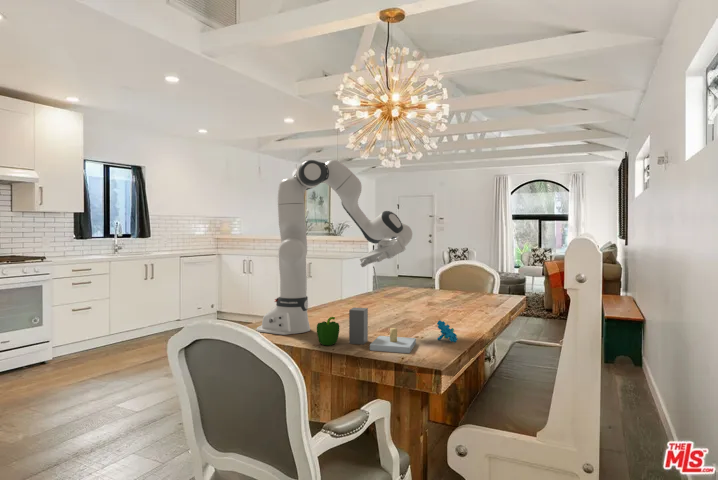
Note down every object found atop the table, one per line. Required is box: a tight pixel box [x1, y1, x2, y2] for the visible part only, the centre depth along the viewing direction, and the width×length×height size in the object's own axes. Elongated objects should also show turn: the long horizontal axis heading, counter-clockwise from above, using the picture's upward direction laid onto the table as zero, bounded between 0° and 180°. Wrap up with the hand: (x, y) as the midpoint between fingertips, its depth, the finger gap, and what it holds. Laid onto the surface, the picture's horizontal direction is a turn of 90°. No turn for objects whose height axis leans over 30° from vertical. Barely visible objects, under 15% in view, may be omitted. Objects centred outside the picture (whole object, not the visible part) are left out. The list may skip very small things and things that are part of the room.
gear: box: [436, 319, 458, 343], centre depth 173 cm, size 11×6×10 cm
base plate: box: [369, 327, 417, 354], centre depth 162 cm, size 14×14×6 cm
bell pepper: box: [316, 316, 340, 346], centre depth 166 cm, size 8×8×10 cm
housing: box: [348, 307, 369, 345], centre depth 169 cm, size 6×6×12 cm
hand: (369, 262), depth 183 cm, fingers open, 8 cm apart
